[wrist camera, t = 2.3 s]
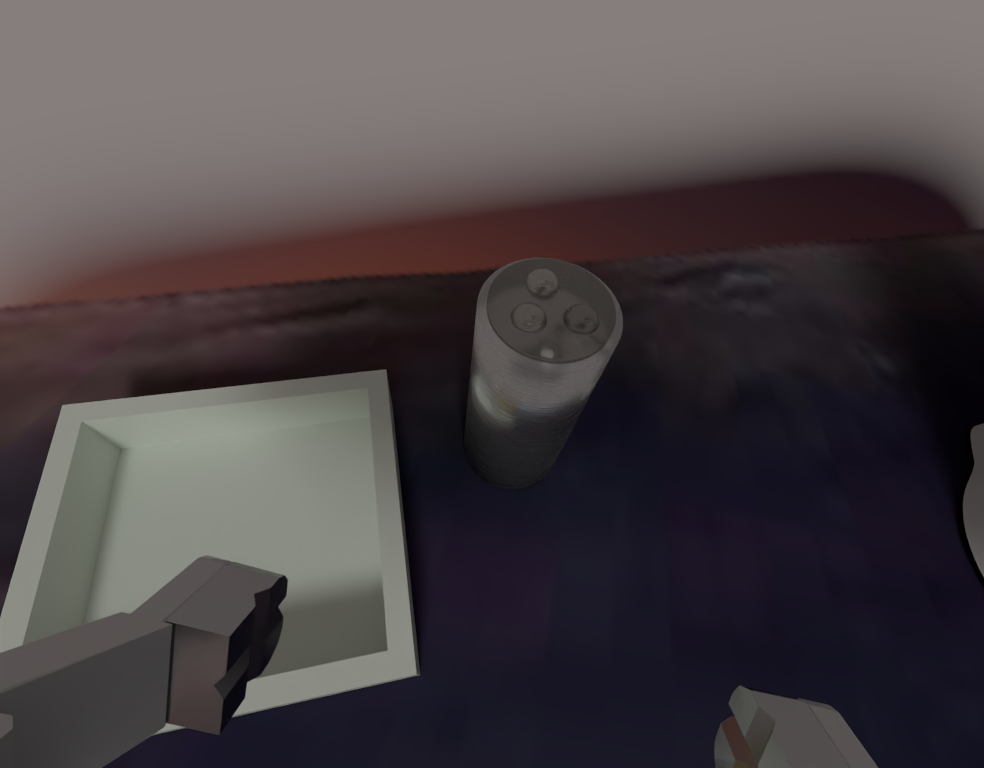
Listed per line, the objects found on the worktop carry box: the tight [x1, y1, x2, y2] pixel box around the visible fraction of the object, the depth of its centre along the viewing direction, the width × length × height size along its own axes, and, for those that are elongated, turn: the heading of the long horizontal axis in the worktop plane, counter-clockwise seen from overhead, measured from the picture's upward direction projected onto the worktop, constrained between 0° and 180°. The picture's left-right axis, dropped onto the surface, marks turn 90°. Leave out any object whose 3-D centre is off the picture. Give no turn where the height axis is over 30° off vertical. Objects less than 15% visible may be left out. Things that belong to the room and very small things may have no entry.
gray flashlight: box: [464, 258, 623, 489], centre depth 23 cm, size 6×6×13 cm
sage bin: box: [0, 369, 420, 735], centre depth 22 cm, size 15×14×4 cm
